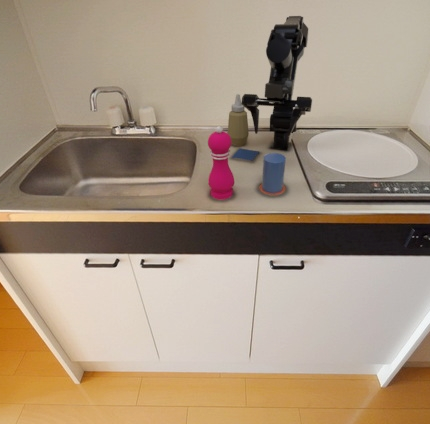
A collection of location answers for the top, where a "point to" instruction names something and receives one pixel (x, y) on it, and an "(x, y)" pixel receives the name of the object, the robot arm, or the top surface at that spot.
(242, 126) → the squeeze bottle
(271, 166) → the blue tin
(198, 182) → the top surface
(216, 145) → the pepper mill
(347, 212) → the top surface
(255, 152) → the blue mat
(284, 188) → the terracotta mat
